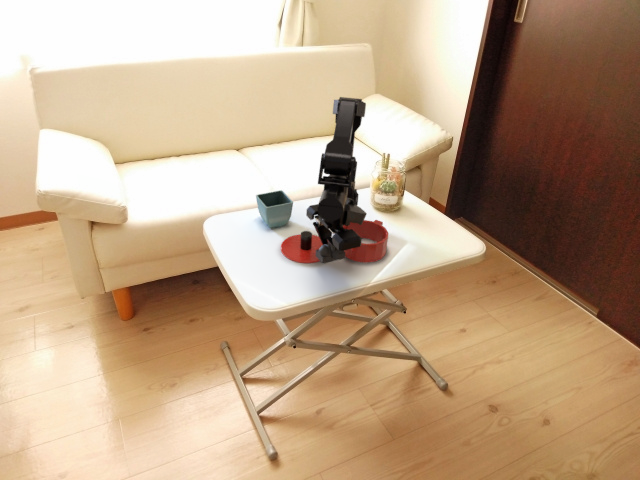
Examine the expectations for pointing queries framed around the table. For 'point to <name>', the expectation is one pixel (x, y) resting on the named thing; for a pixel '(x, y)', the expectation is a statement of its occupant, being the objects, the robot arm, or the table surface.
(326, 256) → the grey lumpy block
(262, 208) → the flower pot
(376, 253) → the pot
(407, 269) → the table surface
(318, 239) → the lid
